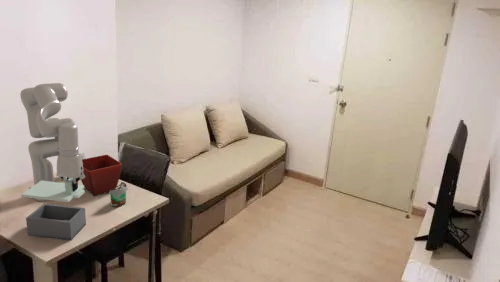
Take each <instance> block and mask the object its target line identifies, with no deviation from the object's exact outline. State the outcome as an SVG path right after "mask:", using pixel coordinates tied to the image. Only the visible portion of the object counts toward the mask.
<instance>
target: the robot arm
mask: <svg viewBox="0 0 500 282" xmlns="http://www.w3.org/2000/svg"><path fill="white" fill-rule="evenodd" d="M68 93H69V92H68V89H67V87H66V86H65V85H64V84H63V83H60V82H55V83H53V82H52V83H40V84H37V85H36V86H34V87H26V88H24V89H22V90H21V91H20V93H19V95H20V100H21V103H22V106H23V107H24V109H25V111H26V115H27V123H28V124H27V125H28V130H29V131H28V132H29V134H30V137H32V138H33V139H40V140H34V141H32V142H30V143H29V144H28V147H27V149H28V153H29V157H30V161H31V167H32V168H31V169H32V174H33V175H32V177H33V186H34V185H36V184H37V183H38V182H40V181H50V182H55V178H54V168H53V167H54V166H53V164H52V161H50V160H49V159H48V158H53V157H57V160H56V177H59V178H60V179H61V180H62V181H63V183H65V182H66V181H67V180H68V179H69V178H73V184H72V187H73V192H75V191H76V190H77V189H78V185H79V181H81V179H84V178H85V175H84V173H83V163H82V158H81V155H80V152H79V151H80V150H79V148H80V147H79V132H78V126H77V124H76V121H74V119H72V118H71V117H70V118H67V117H66V118H58V117H53V116H56V115H57V114H58V113H59V112H61V109H62V104H61V103H62V102H64V101H66V100H67V98H68ZM51 117H52V118H51ZM43 138H45V139H43ZM46 138H47V139H46ZM31 187H32V186H29V187H28V190H29V189H30V188H31ZM32 200H34V201H37V202H38V201H39V202H45V201H46V202H47V201H48V200H45V199H37V198H32Z"/></svg>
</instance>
